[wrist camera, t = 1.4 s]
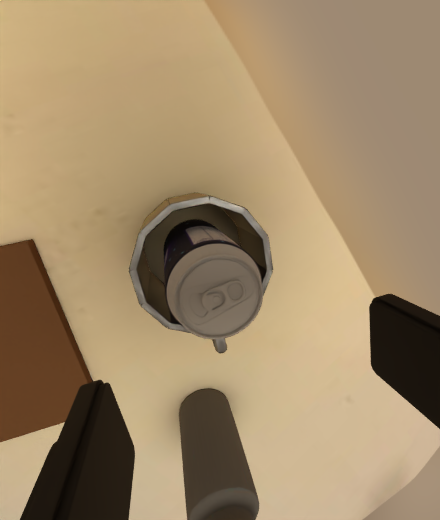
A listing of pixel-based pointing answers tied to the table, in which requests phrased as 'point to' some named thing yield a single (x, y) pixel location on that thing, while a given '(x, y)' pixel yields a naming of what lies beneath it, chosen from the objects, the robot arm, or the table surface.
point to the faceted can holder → (154, 290)
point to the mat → (34, 347)
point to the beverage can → (210, 281)
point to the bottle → (214, 461)
